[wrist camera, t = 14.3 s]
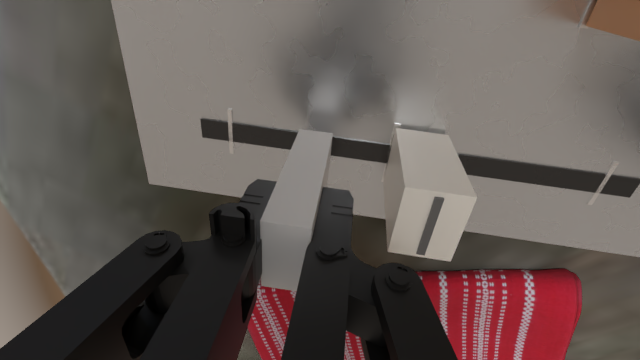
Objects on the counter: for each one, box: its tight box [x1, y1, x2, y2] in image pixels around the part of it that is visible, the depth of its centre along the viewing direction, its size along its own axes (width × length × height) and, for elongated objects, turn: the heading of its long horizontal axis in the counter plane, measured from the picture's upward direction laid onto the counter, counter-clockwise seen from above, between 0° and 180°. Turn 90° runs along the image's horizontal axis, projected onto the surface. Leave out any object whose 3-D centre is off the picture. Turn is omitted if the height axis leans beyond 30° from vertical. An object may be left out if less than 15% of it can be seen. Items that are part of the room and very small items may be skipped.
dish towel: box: [247, 269, 582, 360], centre depth 27 cm, size 17×24×3 cm
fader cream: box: [383, 128, 477, 262], centre depth 14 cm, size 3×2×5 cm
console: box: [111, 0, 640, 257], centre depth 15 cm, size 16×28×2 cm, turn 85°
